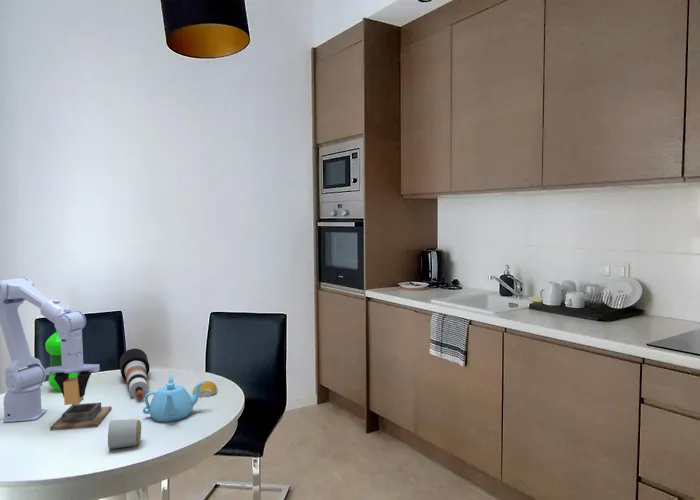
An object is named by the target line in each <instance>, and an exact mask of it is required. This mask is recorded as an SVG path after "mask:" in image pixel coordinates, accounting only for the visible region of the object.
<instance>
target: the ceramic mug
mask: <svg viewBox="0 0 700 500" xmlns="http://www.w3.org/2000/svg"><path fill="white" fill-rule="evenodd" d="M107 429H108V430H107V447H108V449H109V450H112V449H113V450H114V449H121V448H128V447H134V446H138V445H139V444H140V442H141V439H142V438H141V436H142V422H141V420H140V419H135V418H133V419H132V418H131V419H111V420H110V422H109V425H108V427H107Z"/></svg>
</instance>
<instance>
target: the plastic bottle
mask: <svg viewBox="0 0 700 500" xmlns="http://www.w3.org/2000/svg"><path fill="white" fill-rule="evenodd" d="M53 326H54V327H53V328H55V324H54V323H53ZM45 350H46V352H47V353H48V354H49V361H50V367H55V366H62V359H61V339H59V337H58V332H57V330H56V328H55V332H54V333H53V334H52V335H50V336H49V337H48V339H46V341H45ZM55 375H56V374H50V375H48V384H49V386H50V387H51V388H52V389H53V390H54V391H56V392H62V391H61V389H60V387H59V385H58V384H57V382H56V381H55V380H54V377H55ZM78 375H79V373H69V378H73V377H77V376H78Z"/></svg>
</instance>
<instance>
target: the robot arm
mask: <svg viewBox="0 0 700 500" xmlns="http://www.w3.org/2000/svg"><path fill="white" fill-rule="evenodd" d="M25 301H26V302H29V303H30V304H32V305H34V306H35V307H37V308H39V309H40V310H39V312H40V315H42V316H43V317H45V319H47V320H48V321H50V322H51V323H53V325H54V324H55V331H56V330H57V332H58V337H59V339H61V359H62V366H55V367H51V366H48V367H46V368H44V366H43V365H42V363H41V359H39V358H36V357H34V356H32V354H31V351H30V348H29V344H28V340H27V337H26V334H25V331H24V327H23V323H22V321H21V318H20V315H19V314H20V313H19V310H18V309H19V308H20V305H22V304H23V303H24V302H25ZM86 318H87V317H86V315H85V314H84V313H83V312H82V311H81V310H72V309H70V308H69V307H67V306H66V305H64V304H63V303H61V301H60V300H59V299H57V298H56V299H54V298H52V299H50V298H48V297H47V296H46V295H44V294H43V293H42V292H41V291H39V289H37V288H36V286H35V284H34V281H32V280H31V279H30V278H28V277H26V276H24V277H23V276H22V277H20V278H19V277H18V278H12V279H11V278H10V279H3V280H2V279H1V280H0V327H1V330H2V334H3V335H2V336H3V337H4V341H5V344H6V348H7V351H8V355H9V357H10V361H11V362H10V363H9V364H8V366H7V367H6V368H5V369H4V374H5V385H6V387H7V389H8V390H7V391H6V392H5V394H4V396H3V413H4V419H3V423H13V422H24V421H25V422H26V421H37V420H38V419H40V418H41V416H43V415H44V414H45V413H46V412H47V411H48V409H46V408H45V409H44V408H43V409H42V393H41V391H42V390H41V387H43V383H44V382H45V380H46V377H47V376H50V374H56V375H55V377H54V380H55V381H56V382H57V384H58V385H59V387H60V389H61V391H60V392H61V395H62V397H63V398H64V385H63V382H64V381H65V380H66V379H68V378H69V373H78V376H77V377H78V381H79V393H80V397H83V396H84V397H85V395H86V389H87V385H88V382H89V379H90V377H91V375H92V373H98V372H100V368H101V367H100V364H99V363H98V364H93V363H91V364H90V363H84V346H83V329H84V328H85V327H86V326H87V319H86Z"/></svg>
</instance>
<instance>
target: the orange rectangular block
mask: <svg viewBox="0 0 700 500" xmlns="http://www.w3.org/2000/svg"><path fill="white" fill-rule="evenodd" d="M63 385H64V397H63V400H64V406H68V405H69V406H71V405H72V404H81V403H82V401H83V400H84V397H85V395H84V396H83V397H80V393H79V381H78V377H73V378H68V379H66V380H65V381H64V382H63Z"/></svg>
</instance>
